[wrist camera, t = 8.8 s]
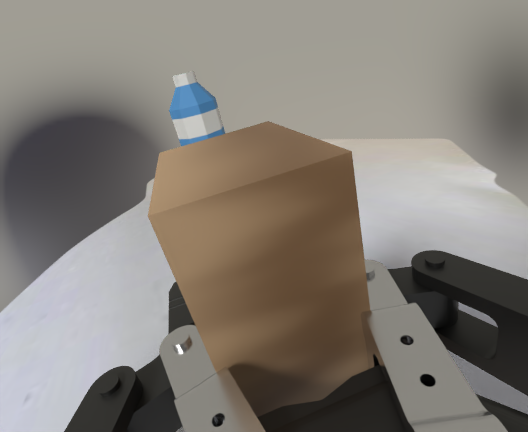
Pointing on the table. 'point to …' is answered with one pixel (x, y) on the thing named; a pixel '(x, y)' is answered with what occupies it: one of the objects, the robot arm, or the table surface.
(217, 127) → the water bottle
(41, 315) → the table surface
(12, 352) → the table surface
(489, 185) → the table surface
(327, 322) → the brown wooden block
